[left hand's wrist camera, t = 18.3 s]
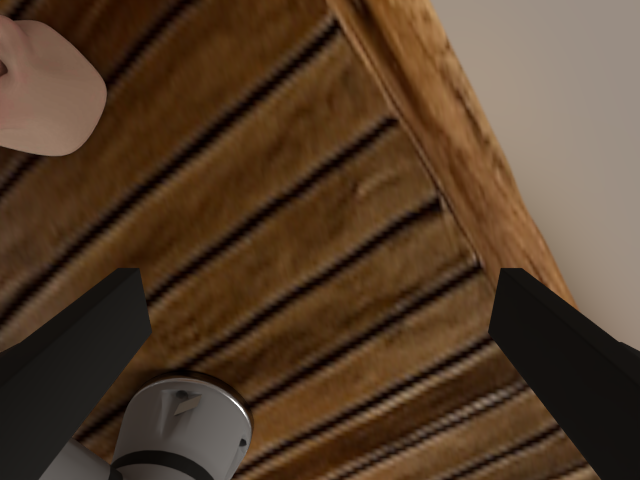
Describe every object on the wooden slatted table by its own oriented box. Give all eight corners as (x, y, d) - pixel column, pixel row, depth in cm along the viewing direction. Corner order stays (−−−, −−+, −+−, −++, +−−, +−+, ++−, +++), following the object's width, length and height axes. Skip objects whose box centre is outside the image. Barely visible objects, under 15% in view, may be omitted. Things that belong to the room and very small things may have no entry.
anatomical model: (83, 47, 25) (61, 191, 29) (115, 54, 28) (92, 181, 32) (-116, -41, 23) (-111, 125, 27) (-54, -20, 27) (-58, 123, 31)
